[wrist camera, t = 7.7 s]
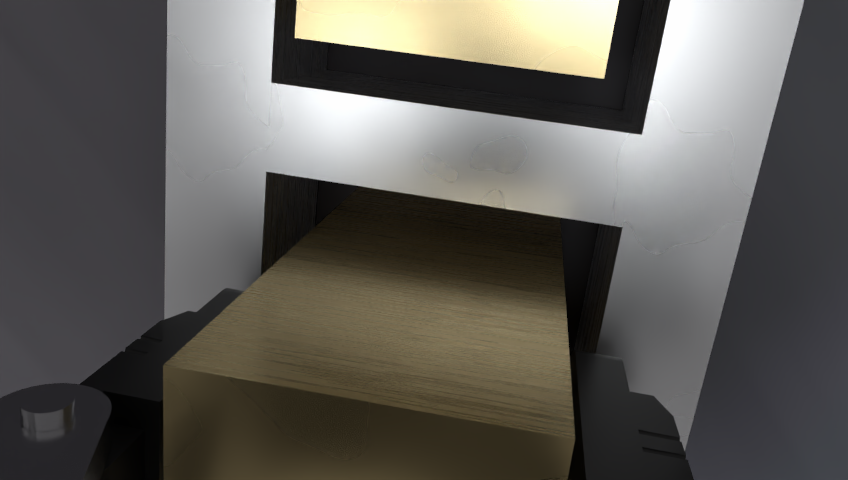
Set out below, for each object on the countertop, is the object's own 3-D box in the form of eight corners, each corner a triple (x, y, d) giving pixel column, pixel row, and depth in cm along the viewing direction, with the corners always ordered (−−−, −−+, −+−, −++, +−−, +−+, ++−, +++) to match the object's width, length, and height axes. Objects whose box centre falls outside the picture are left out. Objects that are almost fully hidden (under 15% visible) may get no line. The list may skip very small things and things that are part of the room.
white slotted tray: (259, -360, 12) (110, -557, 8) (824, -322, 11) (990, -526, 7) (218, 658, 19) (124, 839, 15) (567, 742, 18) (573, 962, 14)
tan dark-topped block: (360, 185, 15) (163, 365, 7) (560, 214, 14) (574, 439, 7) (345, 363, 16) (164, 676, 8) (528, 395, 15) (512, 758, 8)
